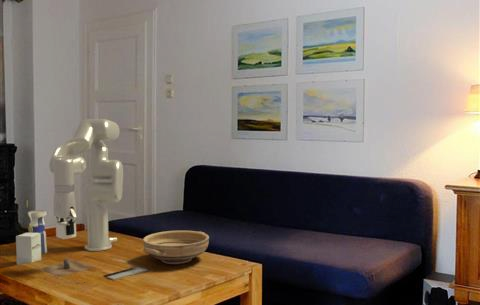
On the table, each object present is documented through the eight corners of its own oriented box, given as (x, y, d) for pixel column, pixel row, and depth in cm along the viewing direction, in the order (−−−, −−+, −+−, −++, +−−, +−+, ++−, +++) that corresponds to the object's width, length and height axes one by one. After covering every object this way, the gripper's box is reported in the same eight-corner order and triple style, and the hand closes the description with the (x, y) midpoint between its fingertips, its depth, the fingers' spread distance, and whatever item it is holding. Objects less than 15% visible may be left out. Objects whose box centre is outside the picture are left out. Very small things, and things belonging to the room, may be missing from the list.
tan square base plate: (74, 263, 217) (74, 252, 216) (95, 271, 206) (94, 258, 206) (38, 272, 205) (37, 260, 205) (58, 280, 194) (58, 267, 194)
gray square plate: (124, 263, 216) (124, 262, 216) (147, 270, 206) (147, 269, 206) (90, 272, 205) (90, 270, 205) (113, 280, 194) (113, 278, 194)
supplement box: (31, 266, 214) (30, 236, 213) (16, 265, 216) (15, 235, 215) (42, 261, 221) (41, 232, 221) (26, 260, 223) (25, 232, 222)
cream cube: (56, 237, 205) (55, 223, 205) (69, 234, 209) (68, 221, 209) (63, 239, 201) (62, 225, 201) (76, 236, 205) (75, 222, 205)
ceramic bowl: (173, 276, 198) (173, 251, 197) (121, 265, 213) (121, 242, 213) (227, 255, 229) (227, 233, 228) (178, 247, 244) (178, 226, 244)
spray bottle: (34, 256, 230) (32, 201, 229) (25, 253, 236) (23, 199, 234) (51, 252, 236) (49, 199, 235) (42, 249, 242) (40, 197, 240)
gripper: (45, 188, 206) (46, 231, 208) (66, 192, 195) (68, 238, 197) (62, 185, 212) (63, 228, 214) (84, 190, 201) (86, 235, 202)
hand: (66, 233), depth 205 cm, fingers closed on cream cube, 5 cm apart
